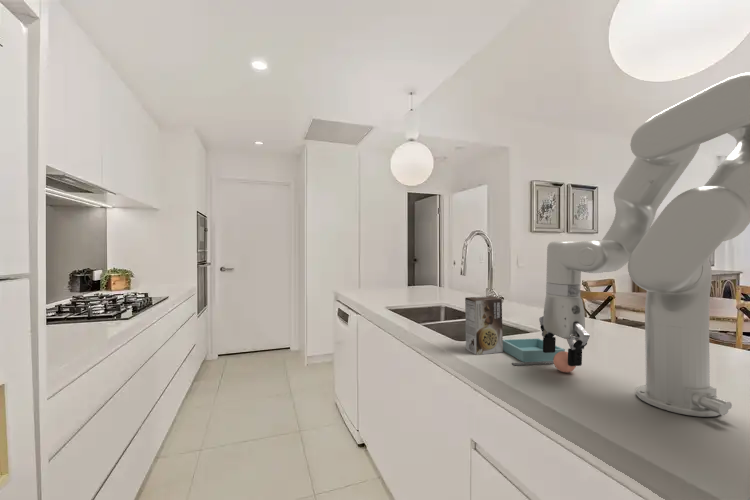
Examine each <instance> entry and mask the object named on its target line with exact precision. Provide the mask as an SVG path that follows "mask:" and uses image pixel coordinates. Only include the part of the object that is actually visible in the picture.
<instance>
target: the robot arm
mask: <svg viewBox="0 0 750 500" xmlns="http://www.w3.org/2000/svg"><path fill="white" fill-rule="evenodd" d="M725 134H728V135H729V136H731V137H733V139H735V140H736V144H735V147H734V149H733V150H732V151H731V152H730V153H729V154H728V155H727V156H726V157H725V158H724V159H723V161H722V162H720V164H719V165H718V167H717V168H716V170H715V172H714V173H713V174H712V175H711V176H710V178H709V179H708V180H707V181H706V183H705V184H704V185H703V186H699V187H698V186H697V187H694V188H693V187H692V188H690V189H687V190H685V191H683V192H681V193H680V194H677V196H676V197H674V198H673V199H672V200H671V201H669V203H668V204H667V205H666V206H665V207H664V208H663V210H662V211H661V212H660V213H659V215H658V217H656V219H655V216H656V214H657V212H658V209H659V208H660V206H661V204H662V203H663V201H664V200H665V198H666V197H667V196H668V194H670V193H669V192H671V190H672V188H673V187H674V186H675V184H676V183H677V182H678V181H679V179H680V178H681V176H682V175H683V174H684V172H685V170H686V169H687V168H688V166H689V165H690V164H691V162H692V161H693V159H694V158H695V156H696V154H697V153H698V151H699V149H700V145H701V144H703V143H706V142H709V141H711V140H714V139H716V138H718V137H720V136H723V135H725ZM629 145H630V150H631V153H632V154H633V155H634V156H635V158H634V160H633V162H632V163H631V165H630V167H629V168H628V170H627V171H626V173H624V174H625V175H624V176H623V177H622V179H621V180H620V182H619V184H618V185H617V187H616V188H615V190H614V192H613V202H614V203H613V204H614V207H615V215H614V219H613V220H612V223H611V225H610V227H609V229H608V231H606V233H605V235H604V236H603V238H602V239H601V240H599V239H598V240H593V239H592V240H583V241H575V240H574V241H572V240H571V241H569V240H567V241H566V240H563V241H562V240H555V241H551V242H549V243H548V244H547V248H546V250H547V251H546V281H545V299H544V306H543V316H541V317H539V319H538V320H539V323H540V324H539V325H540V327H539V328H540V330H541V336H542V340H543V352H544V353H554V352H555V345H556V341H557V340H556V337H555V336H557V337H560V338H562V339H563V340H566V341H567V343H568V345H569V348H568V349H567V352H568V365H569V366H576V367H581V366H582V365H583V364H582V363H583V350H585V347H586V346H587V345H588V341H589V339H590V334H589V333H588V331H587V329H586V319H585V318H586V317H585V308H584V302H583V299H582V298H581V281H582V280H581V279H582V278H581V277H582V272H583V273H587V274H601V273H610V272H616V271H618V270H621V269H622V268H624V266H625V265H626V264H627V271H628V274H629V277H630V279H631V280H632V282H633V283H634V284H635V285H636V286H637V287H638V288H641V289H642V290H645V291H646V295H645V303H644V336H645V337H644V342H645V344H644V345H645V346H644V347H645V355H644V356H645V357H644V358H645V361H644V362H645V384H642V385H639V386H638V387H636V389H635V391H636V396H637V397H638V398H639V399H640V400H641V401H643V402H645V403H647V404H648V405H651V406H653V407H656V408H659V409H661V410H664V411H668V412H672V413H675V414H681V415H686V416H693V417H702V418H704V417H705V418H710V417H711V418H712V417H717V416H720V415H721V416H726V415H727V414H728V413H729V410H730V409H732V408H733V407H732V406H733V405H732V402H731V401H728V400H726V399H723V398H720V397H718V396H717V387H713V386H711V374H710V373H711V370H710V369H711V367H710V366H711V365H710V364H711V363H710V362H711V361H710V355H711V354H710V304H711V303H710V299H711V298H710V297H711V288H712V277H713V270H712V265H711V262H710V259H709V258H710V257H711V256H712V254H713V253H714V252H715V251H716V250H717V249H718V248H719V246H720V245H722V243H723V242H727V241H729V240H733V239H734V238H736V237H738V236H740V235H741V234H742V233H743V232H744V231H745V230H746V228H747V227H748V226H749V225H750V71H749V72H744V73H740V74H737V75H734V76H731V77H728V78H726V79H724V80H722V81H720V82H718V83H716V84H713V85H711V86H710V87H707V88H706V89H704V90H702V91H700V92H698V93H696V94H694V95H692V96H690V97H688V98H686V99H684V100H682V101H680V102H678V103H676V104H675V105H672V106H670V107H669V108H667V109H664V110H662V111H661V112H659V113H657V114H655V115H653V116H652V117H651V118H648V119H647V120H646V121H644V122H643V123H642V124H641V125H640V126H638V128H637V129H636V130H635V131H634V133H633V134H632V136H631V139H630V143H629ZM654 219H655V220H654ZM574 341H575V342H574Z"/></svg>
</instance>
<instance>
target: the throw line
mask: <svg viewBox="0 0 750 500" xmlns="http://www.w3.org/2000/svg"><path fill="white" fill-rule="evenodd" d="M511 365H512V366H514V367H525V366H545V365H554V361H539V362H512V363H511Z"/></svg>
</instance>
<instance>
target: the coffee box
mask: <svg viewBox="0 0 750 500" xmlns="http://www.w3.org/2000/svg"><path fill="white" fill-rule="evenodd" d="M464 299H465V307H464V308H465V350H467V351H468V352H470V353H471V354H473V355H475V356H479V355H489V354H498V353H504V352H503V340H504V339H503V299H502V298H500V297H499V298H498V297H496V296H492V295H487V296H486V295H485V296H484V295H483V296H472V297H471V296H470V297H468V296H467V297H465V298H464Z"/></svg>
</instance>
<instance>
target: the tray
mask: <svg viewBox="0 0 750 500" xmlns="http://www.w3.org/2000/svg"><path fill="white" fill-rule="evenodd" d="M503 351H504V353H506V354H508V355H509V356H511V357H514V358H515V359H517V360H519V361H520V362H521V363H524V362H546V361H553V359H554V356H555V355H556V354H557V353H558V352H561V351H565V352H566V349H565V348H562V347H560V346H557V345H556V344H555V352H554V353H544V352H543V339H542V338H538V337H537V338H536V337H535V338H514V339H512V338H511V339H509V338H508V339H503Z"/></svg>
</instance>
